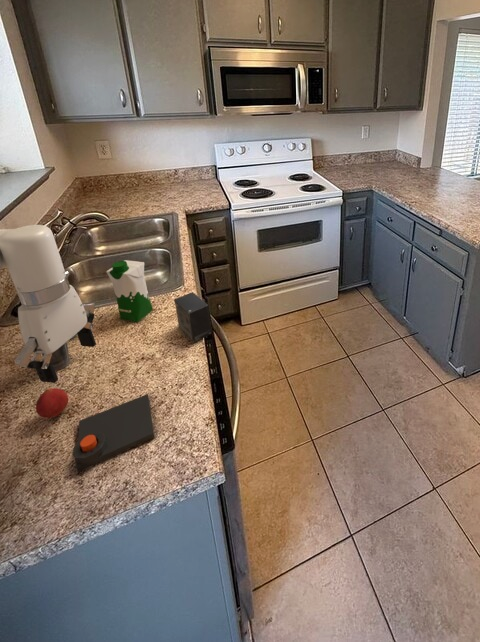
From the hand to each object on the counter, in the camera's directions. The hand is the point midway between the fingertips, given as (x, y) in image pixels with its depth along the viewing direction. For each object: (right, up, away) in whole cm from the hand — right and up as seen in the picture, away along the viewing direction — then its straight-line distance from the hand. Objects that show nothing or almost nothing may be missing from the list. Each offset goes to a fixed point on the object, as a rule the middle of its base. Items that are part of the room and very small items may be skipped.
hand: (70, 362), depth 73 cm
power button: (+4, -17, 0) cm, 17 cm away
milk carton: (-11, -4, +46) cm, 47 cm away
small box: (+12, -7, +37) cm, 40 cm away
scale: (+6, -18, +6) cm, 20 cm away
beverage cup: (-21, -12, +25) cm, 35 cm away
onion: (-10, -17, +10) cm, 22 cm away
